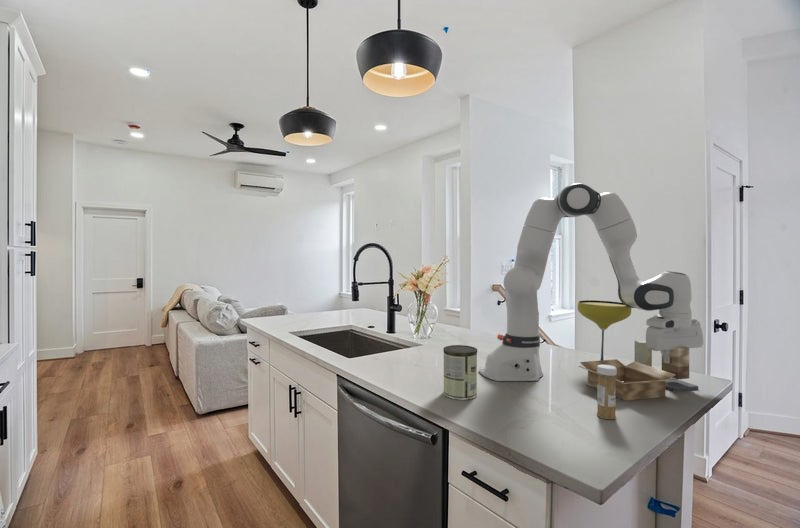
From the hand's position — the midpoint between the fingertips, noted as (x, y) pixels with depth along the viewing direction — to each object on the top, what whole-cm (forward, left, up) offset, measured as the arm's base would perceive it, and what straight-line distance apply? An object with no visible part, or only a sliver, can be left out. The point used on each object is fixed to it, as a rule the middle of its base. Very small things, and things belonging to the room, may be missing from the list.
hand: (675, 362), depth 130 cm
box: (+4, +17, -8) cm, 19 cm away
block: (0, 0, -5) cm, 5 cm away
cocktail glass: (-9, +23, -8) cm, 25 cm away
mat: (-1, +1, -8) cm, 8 cm away
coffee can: (-73, +10, -8) cm, 74 cm away
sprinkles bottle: (-42, -15, -8) cm, 45 cm away
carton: (-20, +1, -8) cm, 21 cm away
